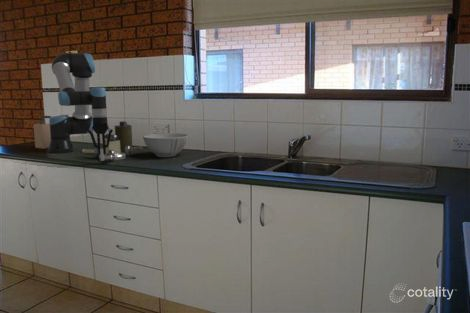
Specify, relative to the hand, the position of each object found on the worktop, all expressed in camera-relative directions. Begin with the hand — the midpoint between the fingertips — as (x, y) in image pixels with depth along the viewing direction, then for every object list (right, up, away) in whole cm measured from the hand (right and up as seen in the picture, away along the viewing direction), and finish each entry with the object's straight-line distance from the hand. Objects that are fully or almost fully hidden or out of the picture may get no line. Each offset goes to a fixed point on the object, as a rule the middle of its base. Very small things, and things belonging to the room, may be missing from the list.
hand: (102, 160), depth 230 cm
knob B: (-13, +2, +22) cm, 26 cm away
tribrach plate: (0, +1, +18) cm, 18 cm away
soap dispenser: (-59, +8, +64) cm, 88 cm away
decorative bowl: (+31, +2, +26) cm, 40 cm away
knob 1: (+4, -1, +4) cm, 5 cm away
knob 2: (+11, +3, +27) cm, 30 cm away
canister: (+3, +4, +34) cm, 34 cm away
